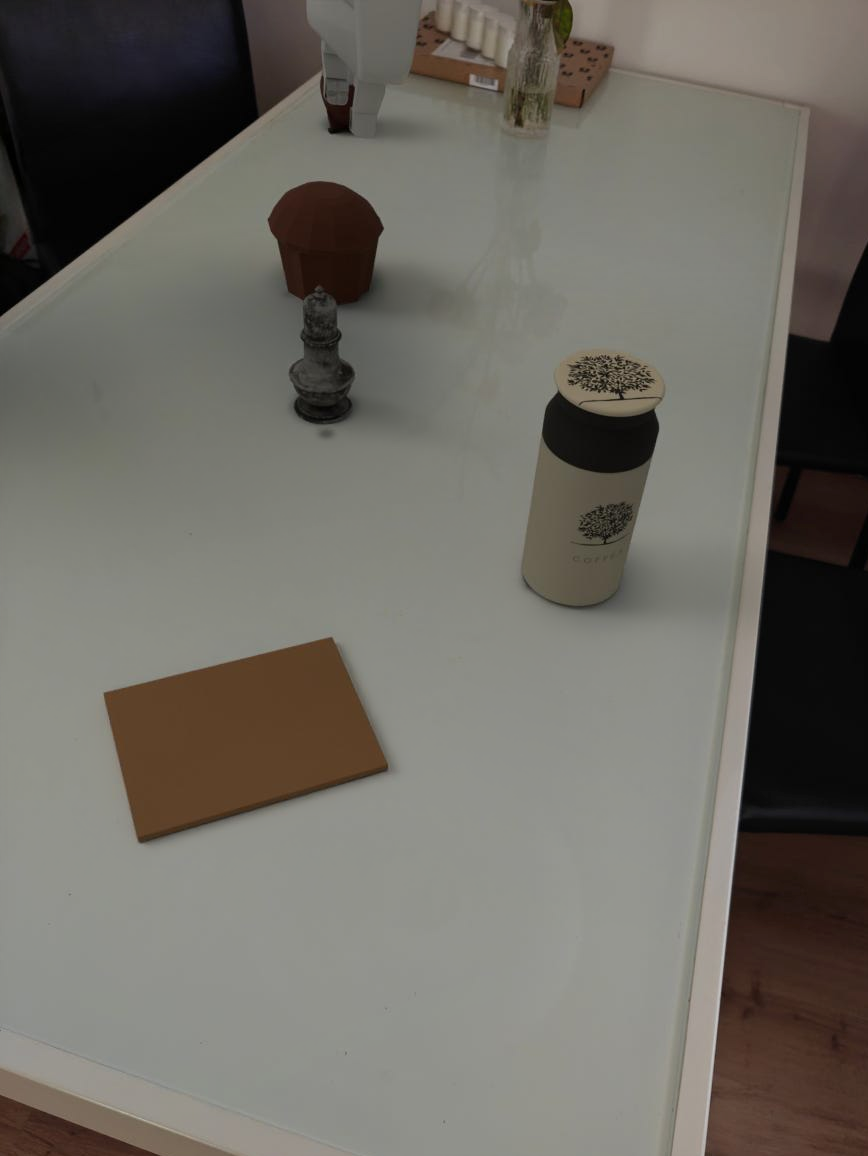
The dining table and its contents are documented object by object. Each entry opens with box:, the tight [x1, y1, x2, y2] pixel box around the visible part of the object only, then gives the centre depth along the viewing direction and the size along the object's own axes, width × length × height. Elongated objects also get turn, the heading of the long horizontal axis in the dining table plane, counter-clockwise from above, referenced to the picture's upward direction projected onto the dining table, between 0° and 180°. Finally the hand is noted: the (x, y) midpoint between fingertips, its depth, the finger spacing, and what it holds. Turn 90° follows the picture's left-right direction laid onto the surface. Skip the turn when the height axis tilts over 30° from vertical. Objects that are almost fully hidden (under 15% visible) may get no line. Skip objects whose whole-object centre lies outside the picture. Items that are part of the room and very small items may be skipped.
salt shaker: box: [288, 285, 356, 425], centre depth 89 cm, size 6×6×12 cm
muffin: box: [266, 180, 385, 306], centre depth 105 cm, size 12×11×10 cm
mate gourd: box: [319, 68, 355, 134], centre depth 131 cm, size 8×8×15 cm
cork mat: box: [103, 636, 389, 843], centre depth 68 cm, size 16×12×1 cm
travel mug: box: [520, 348, 666, 607], centre depth 75 cm, size 8×8×18 cm
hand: (347, 118), depth 82 cm, fingers open, 8 cm apart
